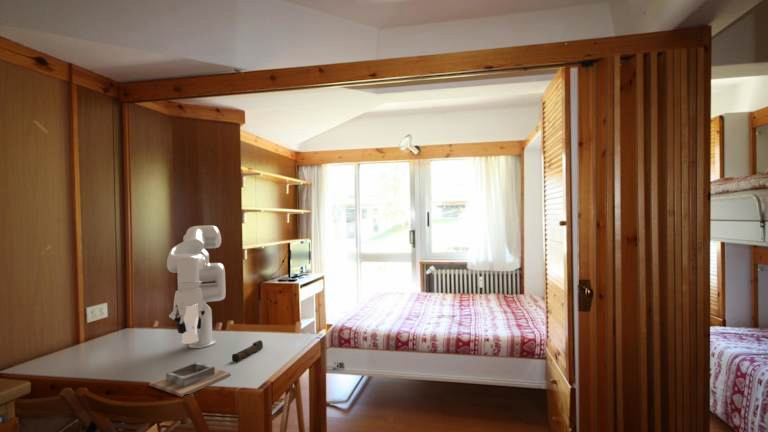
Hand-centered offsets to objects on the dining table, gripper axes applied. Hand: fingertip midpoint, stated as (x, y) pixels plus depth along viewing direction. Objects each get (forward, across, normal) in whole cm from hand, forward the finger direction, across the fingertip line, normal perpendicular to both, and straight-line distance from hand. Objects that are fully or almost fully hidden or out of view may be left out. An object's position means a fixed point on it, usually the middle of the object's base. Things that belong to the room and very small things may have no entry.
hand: (189, 330), depth 143 cm
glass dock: (+20, 0, 0) cm, 20 cm away
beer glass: (+5, 0, 0) cm, 5 cm away
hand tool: (+21, -30, -2) cm, 36 cm away
